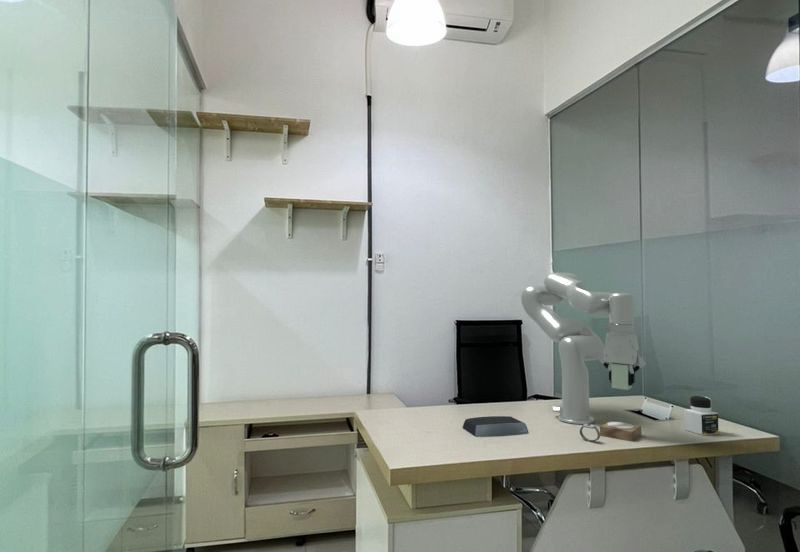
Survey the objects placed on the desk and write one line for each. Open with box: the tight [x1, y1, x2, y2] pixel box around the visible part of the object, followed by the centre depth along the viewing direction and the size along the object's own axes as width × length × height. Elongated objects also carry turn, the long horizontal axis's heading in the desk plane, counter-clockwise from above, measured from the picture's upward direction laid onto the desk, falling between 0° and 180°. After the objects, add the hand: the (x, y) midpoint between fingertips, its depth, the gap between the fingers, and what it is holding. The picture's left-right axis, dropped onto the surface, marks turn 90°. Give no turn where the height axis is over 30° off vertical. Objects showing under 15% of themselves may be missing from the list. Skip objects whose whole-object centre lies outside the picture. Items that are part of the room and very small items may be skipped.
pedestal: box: [599, 420, 642, 442], centre depth 158 cm, size 10×10×3 cm
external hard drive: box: [462, 415, 530, 438], centre depth 162 cm, size 13×19×4 cm
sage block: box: [611, 363, 633, 391], centre depth 159 cm, size 5×5×8 cm
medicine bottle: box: [683, 395, 720, 436], centre depth 163 cm, size 7×7×12 cm
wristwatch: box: [579, 423, 601, 443], centre depth 151 cm, size 6×3×5 cm, turn 44°
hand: (621, 383), depth 159 cm, fingers closed on sage block, 5 cm apart
